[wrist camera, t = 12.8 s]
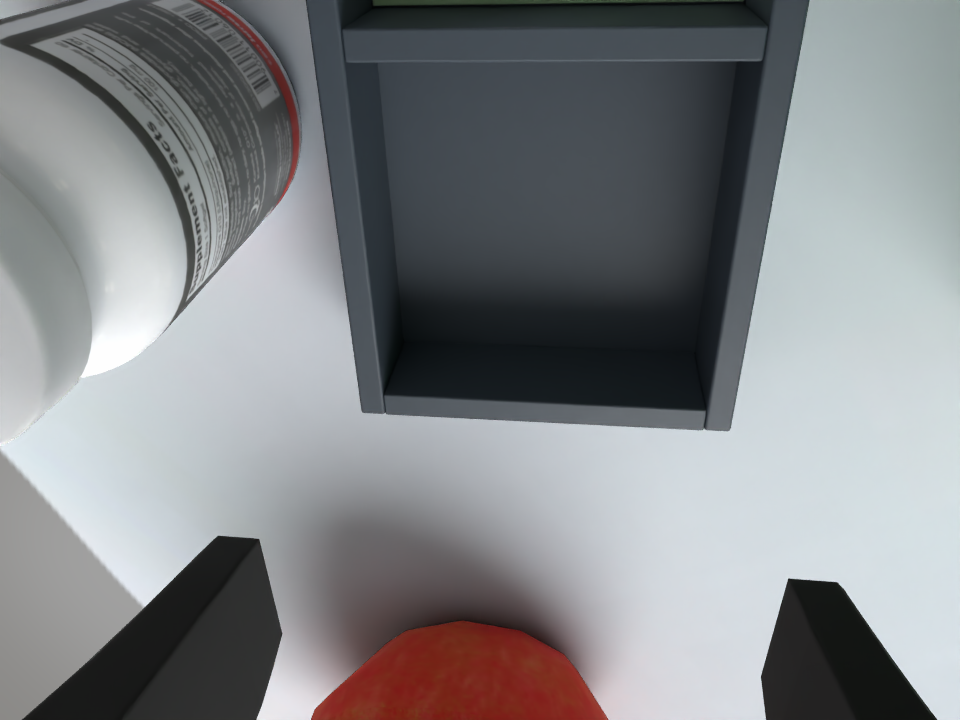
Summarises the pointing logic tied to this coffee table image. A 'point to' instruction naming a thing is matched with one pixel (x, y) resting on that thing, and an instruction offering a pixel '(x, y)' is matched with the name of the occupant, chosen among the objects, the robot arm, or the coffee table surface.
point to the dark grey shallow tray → (553, 200)
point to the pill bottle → (125, 179)
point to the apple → (463, 679)
